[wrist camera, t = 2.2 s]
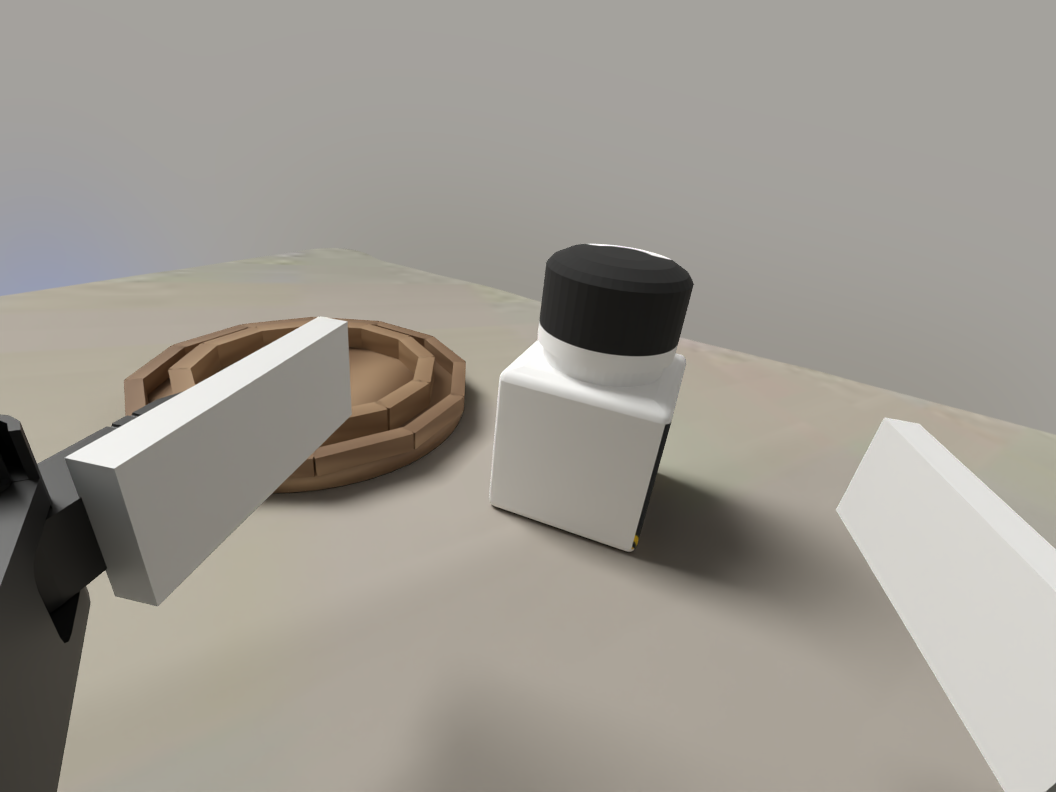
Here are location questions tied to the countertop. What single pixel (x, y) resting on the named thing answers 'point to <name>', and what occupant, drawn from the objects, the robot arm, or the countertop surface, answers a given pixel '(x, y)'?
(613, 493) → the medicine bottle
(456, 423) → the walnut tray
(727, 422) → the countertop surface
